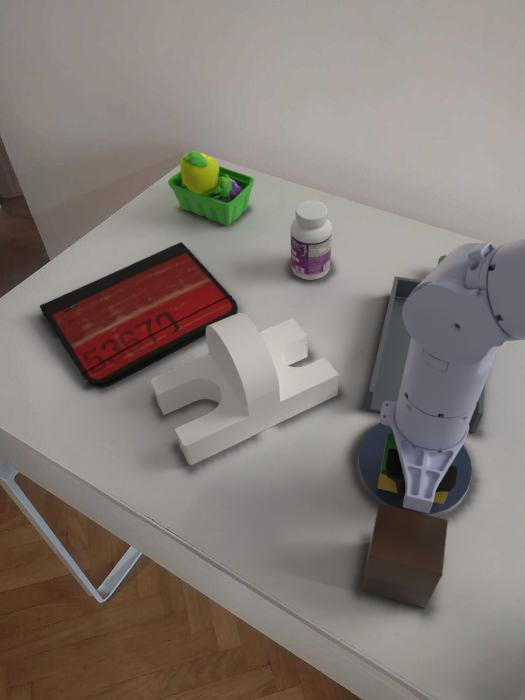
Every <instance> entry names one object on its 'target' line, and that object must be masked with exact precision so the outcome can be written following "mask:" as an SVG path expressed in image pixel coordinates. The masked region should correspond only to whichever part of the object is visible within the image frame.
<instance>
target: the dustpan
mask: <svg viewBox="0 0 525 700" xmlns="http://www.w3.org/2000/svg"><path fill="white" fill-rule="evenodd" d="M446 256H447V255H446V254H445V255H443V254H442V255H441V256H439V258H438V259H437V265H438V264H439V263H440V262H441V261H442V260H443V259H444V258H445V257H446ZM423 280H424V279H422V280H421V279H415V278H410V277H402V276H397V275H395V276H394V278H393V283H392V285H391V292H390V296H389V298H388V299H389V300H388V304H387V307H386V308H387V309H386V313H385V318H384V322H383V327H382V331H381V335H380V340H379V343H378V344H379V345H378V348H377V352H376V357H375V362H374V366H373V371H372V375H371V378H370V379H371V380H370V383H369V389H368V394H367V400H366V407H365V410H366V411H370V412H374V413H375V412H376V413H379V414H380V412H381V408H382V404H383V402H385V401H391V402H396V401H397V400H398V395H399V392H400V387H401V382H402V377H403V373H404V368H405V364H406V359H407V354H408V350H409V345H410V340H411V336H410V334H409V333H408V331H407V329H406V327H405V324H404V321H403V314H402V311H403V305H404V303H405V301H406V299H407V298H408V297H409V296H410V294H411V292H412V291H413V290H414V289H415V288H416V287H417V286H418V285H419V284H420V283H421V282H422V281H423ZM485 391H486V383H485V384H484V387H483V389H482V392H481V394H480V397H479V399H478V402H477V405H476V407H475V410H474V412H473V415H472V417H471V420H470V422H469V431H468V433H469V432H471V433H475V434H477V433H476V432H477V430H478V428H479V425H480V424H481V421H482V419H483V416H484V408H485V395H486V394H485V393H486V392H485Z"/></svg>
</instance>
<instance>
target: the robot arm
mask: <svg viewBox="0 0 525 700" xmlns="http://www.w3.org/2000/svg"><path fill="white" fill-rule="evenodd" d="M422 280H423V281H422V282H421V283H420V284H419V285H418V286H417V287H416V288H415V289H414V290H413V291H412V292H411V294H410V296H409V297H408V298H405V299H406V301H405V303H404V305H403V311H402V314H403V321H404V324H405V327H406V329H407V331H408V333H409V334H410V336H411V340H410V345H409V350H408V354H407V359H406V364H405V368H404V373H403V377H402V382H401V387H400V392H399V395H398V400H397V401H396V402H391V401H385V402H383V404H382V408H381V412H380V413H379V419H378V420H379V423H381V424H383V425H387V426H390V427H391V428H392V430H393V433H394V437H395V441H396V445H397V449H398V450H396V449H392V448H389V449H388V454H387V460H386V465H385V470H386V475H387V477H388V478H390V479H392V480H393V481H394V482H395V483H396V488H397V493H398V496H399V497H400V498H401V499H404V501H403V507H404V508H408V509H412V510H416V511H420V512H425V513H429V512H430V510H431V507H432V504H433V502H434V496H435V493H436V492H450V491H451V490H452V489H453V487H454V486H455V484H456V478H457V468H458V467H457V466H453V465H451V464H452V462H453V460H454V459H455V457H456V455H457V454H458V452H459V450H460V449H461V447H462V445H464V443H465V442H466V439H467V437H468V435H469V422H470V420H471V417H472V415H473V412H474V410H475V407H476V405H477V402H478V399H479V397H480V394H481V392H482V389H483V387H484V384H485V385H486V382H487V380H488V376H489V374H490V371H491V369H492V366H493V365H494V364H493V363H494V362H495V356H496V350H497V348H498V347H502V346H503V344H504V343H505V342H513V341H524V340H525V238H523V239H520V240H519V239H518V240H515V241H511V242H508V243H504V244H500V245H494V244H493V242H492V241H486V242H482V243H481V242H470V243H464V244H461V245H458V246H456V247H455V248H453V249H452V250H451V251H450V252H449V253H448V254H447V255H446V257H445V258H444V259H443V260H442V261H441V262H440V263H439V264H438V263H437V265H436V266H435V267H434V268H433V269H432V270H431V271H430V272H429V273H428V274H427V276H425V277H424V278H423V279H422Z"/></svg>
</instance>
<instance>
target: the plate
mask: <svg viewBox="0 0 525 700" xmlns="http://www.w3.org/2000/svg"><path fill="white" fill-rule="evenodd" d="M388 433H390V434H394V433H393V430H392V428H391V427H390V426H387V425H383V424H381V423H380V422H379V423H376V424H375V425H374V426H373V427H371V429H370V430H368V432H367V433H366V434H365V435H364V436H363V438H362V441H361V442H360V446H359V449H358V454H357V472H358V476H359V480H360V482H361V484H362V486H363V488H364V489H365V491H366V493H367V494H368V495H369V496H370V497H371V499H372V500H373V501H375V502H376V503H377V504H378V505H379V503H380V504H384V505H388V506H392V507H396V508H401V509H405V510H409V511H413V512H417V513H421V514H425V515H429V516H433V517H437V518H440V517H442V516H444V515H446V514H448V513H450V512H451V511H453V510H455V509H456V508H457V507H458V506H459V505H460V504H461V503H462V501H463V500H464V498H465V497H466V495H467V492H468V490H469V488H470V485H471V482H472V476H473V467H472V460H471V458H470V455H469V453H468V451H467V449H466V447H465V445H464V444H463V445H462V447H461V449H460V450H459V452H458V454H457V455H456V457H455V459H454V460H453V466H457V467H458V468H457V478H456V484H455V486H454V487H453V489H452V490H451V491H450V492H448V494H447V497H446V499H445V502H444V504H441V503H437V502H433V504H432V507H431V510H430V512H429V513H425V512H420V511H416V510H412V509H408V508H404V507H403V501H404V499H401V498H400V497H399V496H398V493H395V492H391V491H387V490H383V489H378V482H379V477H380V472H381V466H382V461H383V456H384V450H385V446H386V441H387V436H388Z"/></svg>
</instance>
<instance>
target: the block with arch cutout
mask: <svg viewBox="0 0 525 700" xmlns="http://www.w3.org/2000/svg"><path fill="white" fill-rule="evenodd" d="M308 338H309V336H308V334H307V333H306V331H304V330H303V329H302V327H301V325H300V324H299V323H298V322H297V321H296V320H295V318H294V317H292V318H290V319H287V320H285V321H283V322H280V323H277V324H276V325H274V326H270V327H268V328H266V329H264V330H262V331H259V329H258V328H257V326H256V325H255V323H254V322H253V321H252V320H251V319H250V317H249V316H248V315H246V314H245V313H243V312H237V314H235V315H232V316H230V317H228V318H225V319H223V320H220V321H218V322H215V323H213V324H211V325H208V326H207V327H206V335H205V339H206V343H207V344H206V345H207V349H208V354H205V355H203V356H201V357H198V358H196V359H193V360H191V361H188V362H187V363H184V364H182V365H180V366H177V367H174V368H172V369H170V370H168V371H165V372H163V373H161V374H159V375H158V374H157V375H156V376H154V377H153V378H151V381H150V383H151V386H152V390H153V392H154V395H155V399H156V401H157V405H158V407H159V409H160V411H161V412H162V415H163V416H166V415H168V414H170V413H172V412H174V411H176V410H179V409H181V408H183V407H185V406H187V405H189V404H192V403H194V402H197V401H200V400H211V401H213V402H216V403H218V404H217V406H216V407H215V408H214V409H213V410H212V411H210V412H208V413H206V414H204V415H202V416H199V417H197V418H195V419H193V420H191V421H189V422H186V423H184V424H182V425H180V426H177V427H175V428H174V431H175V435H176V437H177V442H178V444H179V448H180V450H181V452H182V454H183V455H184V458H185V460H186V462H187V463H188V465H190V466H193V465H196V464H197V463H200V462H202V461H203V460H206V459H208V458H210V457H212V456H214V455H217V454H218V453H220V452H223V451H225V450H227V449H229V448H231V447H233V446H235V445H237V444H239V443H242V442H244V441H245V440H247V439H249V438H252V437H253V436H255V435H257V434H260V433H262V432H264V431H265V430H268V429H270V428H272V427H275V426H276V425H278V424H280V423H283V422H285V421H287V420H289V419H291V418H292V417H295V416H297V415H299V414H301V413H303V412H305V411H308V410H309V409H311V408H314V407H316V406H318V405H320V404H322V403H324V402H326V401H329V400H330V399H332V398H334V397H337V396H338V392H339V379H340V374H339V372H338V371H337V370H336V369H335V368H334V366H332V364H331V362H330V361H329V360H328V359H327V358H326V356H324V357H322V358H320V359H319V358H318V359H317V360H315V361H312V362H311V363H309V364H307V365H303V366H299V367H297V366H291V365H292V364H295V363H297V362H299V361H301V360H304V359H307V358H308V353H309V352H308V351H309V350H308V341H309V339H308Z"/></svg>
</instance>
